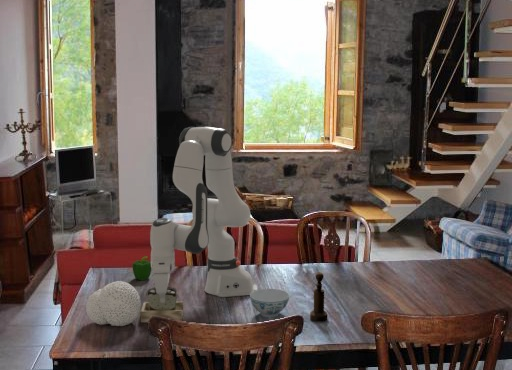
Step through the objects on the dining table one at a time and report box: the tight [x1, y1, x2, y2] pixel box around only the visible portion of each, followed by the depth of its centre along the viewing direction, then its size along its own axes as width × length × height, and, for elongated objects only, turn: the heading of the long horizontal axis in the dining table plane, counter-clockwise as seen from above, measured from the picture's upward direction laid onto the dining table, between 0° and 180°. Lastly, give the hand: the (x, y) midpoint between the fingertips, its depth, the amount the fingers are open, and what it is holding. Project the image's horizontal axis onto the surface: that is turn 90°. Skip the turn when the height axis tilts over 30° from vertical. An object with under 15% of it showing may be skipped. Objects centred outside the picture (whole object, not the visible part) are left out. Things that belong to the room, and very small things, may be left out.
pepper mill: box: [309, 272, 328, 323], centre depth 257 cm, size 7×6×18 cm
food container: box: [145, 286, 179, 310], centre depth 258 cm, size 12×6×10 cm, turn 81°
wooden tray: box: [140, 301, 184, 323], centre depth 259 cm, size 15×10×4 cm
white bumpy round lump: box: [85, 280, 142, 327], centre depth 251 cm, size 20×18×16 cm
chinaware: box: [249, 288, 290, 318], centre depth 263 cm, size 15×15×8 cm
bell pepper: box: [132, 256, 152, 281], centre depth 306 cm, size 8×8×10 cm
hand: (163, 297), depth 259 cm, fingers open, 8 cm apart
